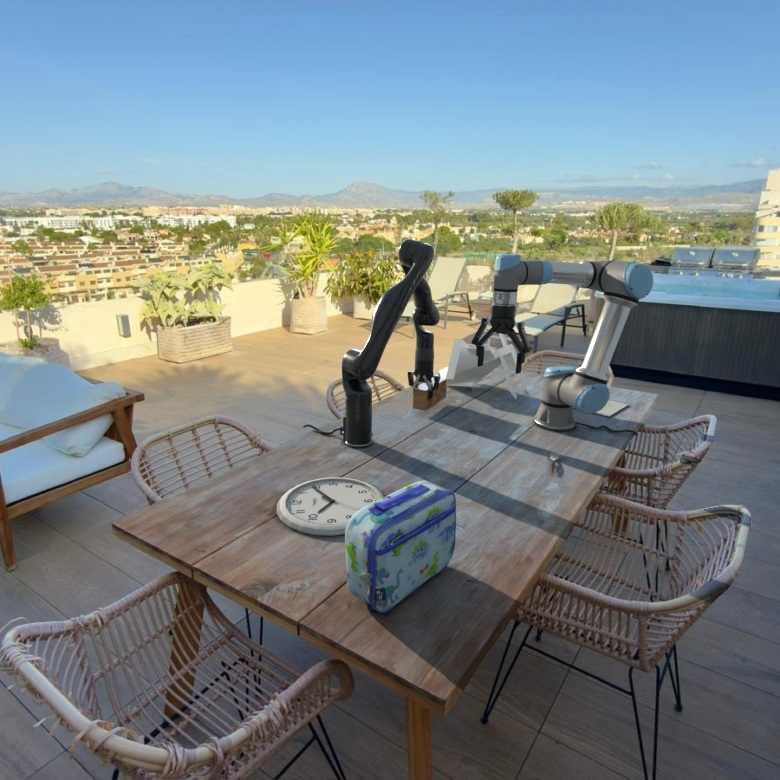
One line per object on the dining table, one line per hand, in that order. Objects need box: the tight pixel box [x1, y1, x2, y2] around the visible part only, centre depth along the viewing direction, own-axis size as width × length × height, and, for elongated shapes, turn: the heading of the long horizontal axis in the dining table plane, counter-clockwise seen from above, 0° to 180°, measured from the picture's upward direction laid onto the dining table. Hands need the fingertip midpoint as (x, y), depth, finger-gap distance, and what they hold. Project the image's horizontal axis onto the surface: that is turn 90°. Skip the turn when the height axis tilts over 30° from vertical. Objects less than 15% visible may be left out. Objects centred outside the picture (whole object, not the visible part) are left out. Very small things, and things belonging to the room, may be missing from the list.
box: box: [412, 377, 447, 412], centre depth 219 cm, size 21×6×8 cm, turn 151°
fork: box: [549, 449, 560, 474], centre depth 170 cm, size 3×16×2 cm, turn 160°
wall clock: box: [276, 476, 386, 537], centre depth 142 cm, size 30×2×30 cm
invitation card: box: [595, 399, 629, 418], centre depth 226 cm, size 21×1×15 cm
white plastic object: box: [438, 333, 531, 400], centre depth 245 cm, size 37×45×31 cm
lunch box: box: [344, 480, 457, 614], centre depth 109 cm, size 26×11×21 cm, turn 135°
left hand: (422, 397), depth 213 cm, fingers closed on box, 5 cm apart
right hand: (498, 369), depth 172 cm, fingers open, 13 cm apart
